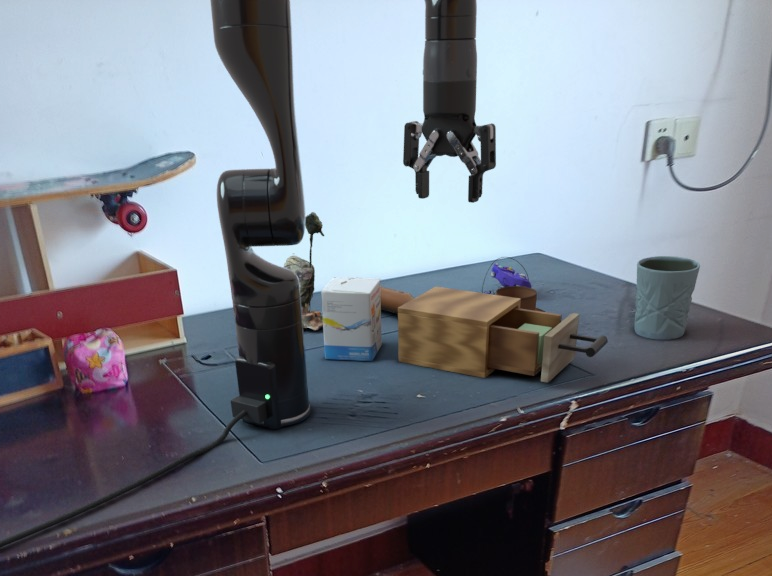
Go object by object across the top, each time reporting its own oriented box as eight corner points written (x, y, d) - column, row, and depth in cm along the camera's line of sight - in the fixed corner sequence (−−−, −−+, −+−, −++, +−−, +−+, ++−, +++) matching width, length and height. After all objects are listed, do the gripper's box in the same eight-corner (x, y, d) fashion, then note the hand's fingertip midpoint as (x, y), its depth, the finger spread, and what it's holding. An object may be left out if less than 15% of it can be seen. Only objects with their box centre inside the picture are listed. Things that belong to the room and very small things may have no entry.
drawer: (610, 363, 132) (615, 319, 128) (585, 389, 123) (590, 342, 119) (492, 343, 141) (494, 301, 137) (462, 366, 132) (463, 322, 128)
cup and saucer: (517, 341, 144) (519, 306, 141) (467, 325, 152) (469, 292, 149) (561, 325, 151) (564, 291, 147) (511, 310, 159) (513, 278, 155)
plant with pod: (302, 313, 160) (294, 204, 150) (341, 326, 153) (335, 213, 143) (269, 323, 156) (258, 212, 145) (307, 337, 149) (298, 221, 138)
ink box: (372, 362, 138) (370, 292, 131) (323, 359, 139) (319, 290, 133) (383, 344, 145) (381, 277, 138) (336, 342, 146) (332, 275, 140)
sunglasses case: (445, 311, 158) (434, 285, 152) (424, 337, 156) (412, 312, 151) (377, 293, 168) (365, 269, 163) (357, 318, 166) (344, 294, 161)
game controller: (547, 274, 166) (527, 275, 158) (529, 311, 170) (509, 315, 162) (506, 252, 169) (485, 253, 161) (490, 290, 173) (469, 292, 165)
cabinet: (517, 352, 140) (520, 298, 135) (484, 378, 130) (487, 321, 126) (435, 337, 147) (435, 286, 142) (398, 361, 137) (397, 307, 132)
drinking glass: (699, 336, 144) (712, 266, 137) (650, 344, 141) (661, 274, 135) (664, 319, 152) (674, 253, 146) (617, 327, 149) (625, 259, 143)
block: (539, 364, 129) (541, 336, 127) (511, 359, 131) (513, 331, 129) (549, 355, 133) (552, 327, 130) (523, 350, 135) (524, 323, 132)
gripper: (507, 75, 115) (501, 199, 124) (419, 75, 122) (419, 192, 130) (483, 79, 110) (479, 207, 118) (392, 78, 116) (394, 200, 125)
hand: (448, 199), depth 124 cm, fingers open, 8 cm apart
